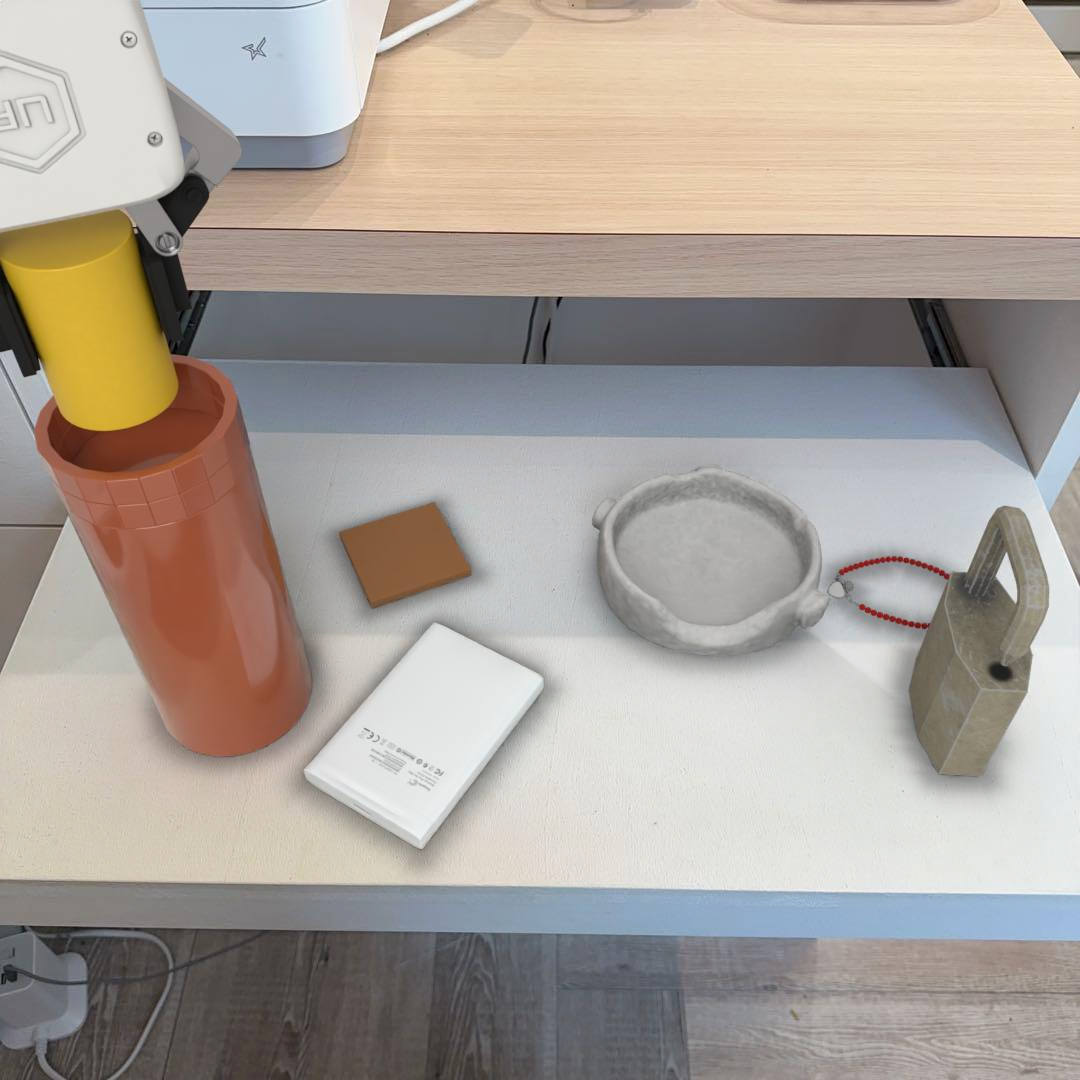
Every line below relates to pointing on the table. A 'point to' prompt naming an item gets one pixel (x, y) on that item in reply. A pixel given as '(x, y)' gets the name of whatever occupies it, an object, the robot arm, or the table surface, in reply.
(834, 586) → the necklace
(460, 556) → the mat
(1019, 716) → the table surface
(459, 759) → the hard drive
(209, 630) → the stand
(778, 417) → the table surface
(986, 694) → the padlock
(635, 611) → the dish
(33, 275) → the yellow cylinder
